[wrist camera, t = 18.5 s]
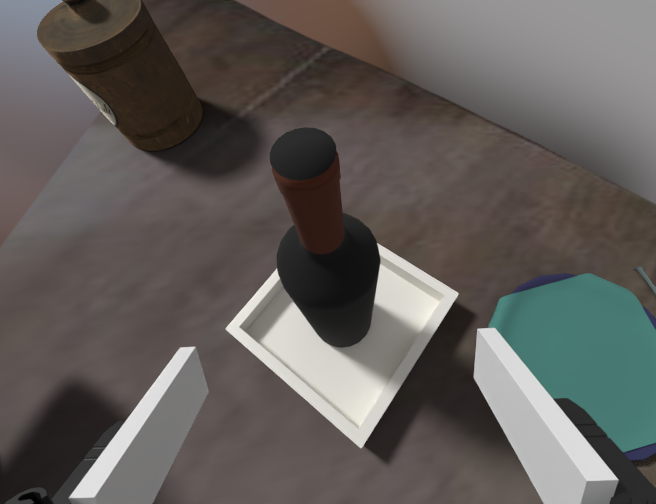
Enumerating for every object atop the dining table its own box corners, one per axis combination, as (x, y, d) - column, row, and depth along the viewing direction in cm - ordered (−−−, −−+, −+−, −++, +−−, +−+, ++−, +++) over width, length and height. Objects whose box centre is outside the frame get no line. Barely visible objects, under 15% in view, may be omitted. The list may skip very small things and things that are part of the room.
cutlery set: (459, 300, 40) (465, 295, 38) (675, 242, 41) (692, 234, 39) (539, 482, 32) (552, 489, 30) (805, 404, 33) (835, 405, 31)
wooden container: (126, 105, 62) (16, -33, 42) (199, 85, 62) (124, -60, 42) (126, 161, 56) (-5, 31, 36) (207, 138, 56) (122, -2, 36)
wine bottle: (301, 309, 41) (184, 140, 14) (349, 277, 42) (330, 64, 15) (333, 360, 38) (265, 275, 11) (383, 325, 39) (439, 167, 12)
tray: (361, 443, 35) (361, 448, 32) (235, 333, 41) (225, 328, 38) (451, 301, 40) (459, 293, 37) (328, 224, 47) (325, 211, 43)
